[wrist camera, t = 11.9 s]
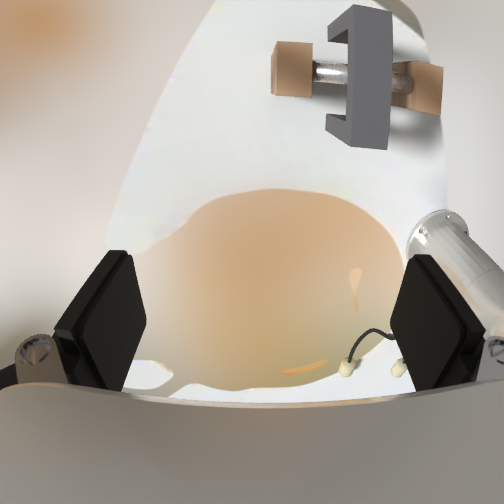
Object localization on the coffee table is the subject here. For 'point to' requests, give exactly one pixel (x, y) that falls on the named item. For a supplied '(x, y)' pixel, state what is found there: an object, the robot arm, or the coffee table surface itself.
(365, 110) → the grey channel bracket
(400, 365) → the cable
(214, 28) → the coffee table surface
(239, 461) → the robot arm
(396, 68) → the hook stand
